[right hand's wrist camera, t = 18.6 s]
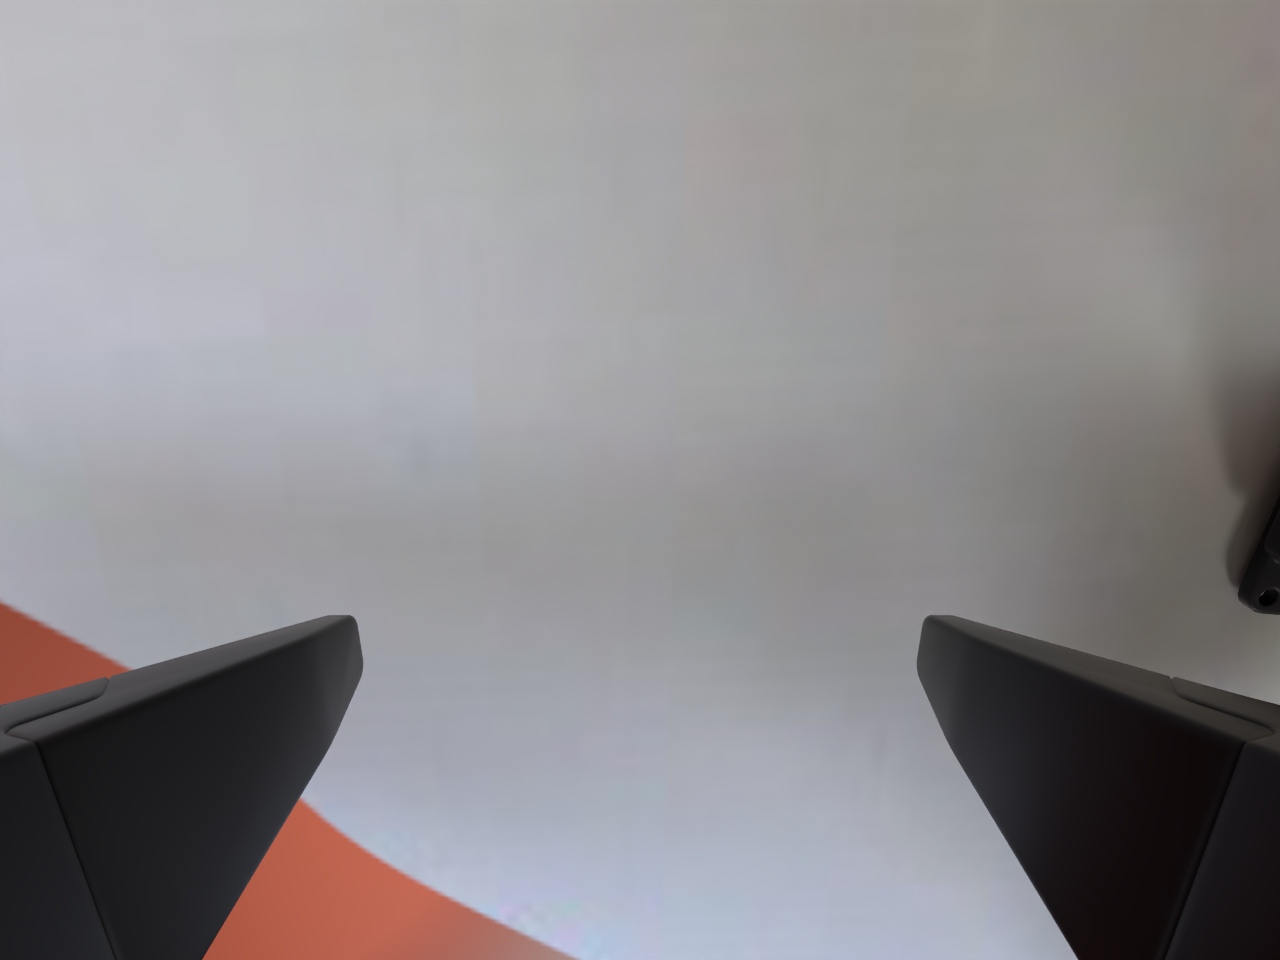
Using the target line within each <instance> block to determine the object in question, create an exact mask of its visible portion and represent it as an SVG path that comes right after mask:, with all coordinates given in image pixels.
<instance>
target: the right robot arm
mask: <svg viewBox="0 0 1280 960" xmlns="http://www.w3.org/2000/svg"><path fill="white" fill-rule="evenodd" d="M1264 591H1265V592H1264ZM1262 592H1264V594H1263V595H1261V594H1262ZM1260 595H1261V596H1260ZM1259 596H1260V597H1259ZM1238 598H1239V600H1240V601H1241V602H1242V603H1243V604H1244V605H1246V606H1247V607H1249V608H1250V609H1252V610H1253V611H1255V612H1258V613H1263V614H1275V615H1280V497H1279V499H1278V501H1277V504H1276V506H1275V508H1274V511H1273V513H1272V515H1271V517H1270V520H1269V522H1268V524H1267V526H1266V529H1265V531H1264V533H1263V535H1262V538H1261V540H1260V542H1259V544H1258V547H1257V549H1256V551H1255V553H1254V556H1253V558H1252V560H1251V563H1250V565H1249V567H1248V569H1247V572H1246V574H1245V576H1244V578H1243V581H1242V583H1241V585H1240V587H1239V591H1238ZM362 671H363V657H362V651H361V644H360V638H359V632H358V626H357V622H356V620H355V618H354V617H353V616H350V615H329V616H324V617H320V618H317V619H313V620H310V621H306V622H303V623H299V624H296V625H292V626H288V627H285V628H281V629H278V630H274V631H271V632H267V633H263V634H260V635H256V636H253V637H249V638H246V639H242V640H239V641H235V642H231V643H228V644H224V645H221V646H217V647H214V648H210V649H207V650H203V651H199V652H196V653H192V654H189V655H185V656H182V657H178V658H174V659H171V660H167V661H164V662H160V663H157V664H153V665H150V666H146V667H142V668H139V669H135V670H132V671H128V672H125V673H121V674H118V675H114V676H111V677H110V679H108V678H106V677H104V678H100V679H96V680H93V681H89V682H85V683H82V684H79V685H75V686H71V687H67V688H64V689H60V690H56V691H52V692H49V693H45V694H41V695H38V696H34V697H30V698H26V699H23V700H19V701H15V702H11V703H7V704H3V705H0V960H202V959H203V957H204V955H205V954H206V952H207V950H208V949H209V947H210V945H211V944H212V942H213V940H214V939H215V937H216V935H217V934H218V932H219V930H220V929H221V927H222V925H223V924H224V922H225V920H226V919H227V917H228V915H229V914H230V912H231V911H232V909H233V907H234V906H235V904H236V902H237V901H238V899H239V897H240V895H241V894H242V892H243V891H244V889H245V887H246V886H247V884H248V882H249V881H250V879H251V877H252V876H253V874H254V872H255V871H256V869H257V867H258V866H259V864H260V862H261V861H262V859H263V857H264V856H265V854H266V852H267V851H268V849H269V847H270V846H271V844H272V842H273V841H274V839H275V838H276V836H277V834H278V832H279V831H280V829H281V827H282V826H283V824H284V823H285V821H286V819H287V817H288V816H289V814H290V813H291V811H292V809H293V808H294V806H295V804H296V803H297V801H298V799H299V798H300V796H301V794H302V793H303V791H304V789H305V788H306V786H307V784H308V783H309V781H310V779H311V778H312V776H313V774H314V773H315V771H316V769H317V768H318V766H319V765H320V763H321V761H322V760H323V758H324V756H325V754H326V753H327V751H328V749H329V747H330V745H331V743H332V741H333V739H334V737H335V735H336V733H337V731H338V728H339V726H340V724H341V722H342V719H343V717H344V715H345V713H346V710H347V708H348V706H349V704H350V701H351V699H352V697H353V694H354V692H355V690H356V688H357V685H358V683H359V681H360V678H361V675H362ZM917 671H918V675H919V678H920V681H921V683H922V685H923V688H924V690H925V692H926V694H927V697H928V699H929V701H930V704H931V706H932V708H933V710H934V713H935V715H936V717H937V719H938V722H939V724H940V726H941V728H942V731H943V733H944V735H945V737H946V739H947V741H948V743H949V745H950V747H951V749H952V751H953V753H954V754H955V756H956V758H957V760H958V761H959V763H960V765H961V766H962V768H963V769H964V771H965V773H966V774H967V776H968V778H969V779H970V781H971V783H972V784H973V786H974V788H975V789H976V791H977V793H978V794H979V796H980V798H981V799H982V801H983V803H984V804H985V806H986V808H987V809H988V811H989V813H990V814H991V816H992V818H993V819H994V821H995V823H996V824H997V826H998V828H999V829H1000V831H1001V833H1002V834H1003V836H1004V838H1005V839H1006V841H1007V842H1008V844H1009V846H1010V847H1011V849H1012V851H1013V852H1014V854H1015V856H1016V857H1017V859H1018V861H1019V862H1020V864H1021V866H1022V867H1023V869H1024V871H1025V872H1026V874H1027V876H1028V877H1029V879H1030V881H1031V882H1032V884H1033V886H1034V887H1035V889H1036V891H1037V892H1038V894H1039V896H1040V897H1041V899H1042V901H1043V902H1044V904H1045V906H1046V907H1047V909H1048V911H1049V912H1050V914H1051V915H1052V917H1053V919H1054V920H1055V922H1056V924H1057V925H1058V927H1059V929H1060V930H1061V932H1062V934H1063V935H1064V937H1065V939H1066V940H1067V942H1068V944H1069V945H1070V947H1071V949H1072V950H1073V952H1074V954H1075V955H1076V957H1077V959H1078V960H1280V705H1277V704H1273V703H1269V702H1265V701H1261V700H1258V699H1254V698H1250V697H1246V696H1242V695H1239V694H1235V693H1231V692H1228V691H1224V690H1220V689H1216V688H1213V687H1209V686H1205V685H1202V684H1198V683H1195V682H1191V681H1187V680H1184V679H1180V678H1177V677H1174V678H1172V679H1170V677H1169V676H1166V675H1162V674H1159V673H1155V672H1152V671H1148V670H1145V669H1141V668H1138V667H1134V666H1130V665H1127V664H1123V663H1120V662H1116V661H1113V660H1109V659H1105V658H1102V657H1098V656H1095V655H1091V654H1088V653H1084V652H1081V651H1077V650H1073V649H1070V648H1066V647H1063V646H1059V645H1056V644H1052V643H1049V642H1045V641H1041V640H1038V639H1034V638H1031V637H1027V636H1024V635H1020V634H1016V633H1013V632H1009V631H1006V630H1002V629H999V628H995V627H992V626H988V625H984V624H981V623H977V622H974V621H970V620H967V619H963V618H960V617H956V616H951V615H930V616H927V617H926V618H925V620H924V622H923V626H922V632H921V638H920V644H919V650H918V657H917Z"/></svg>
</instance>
